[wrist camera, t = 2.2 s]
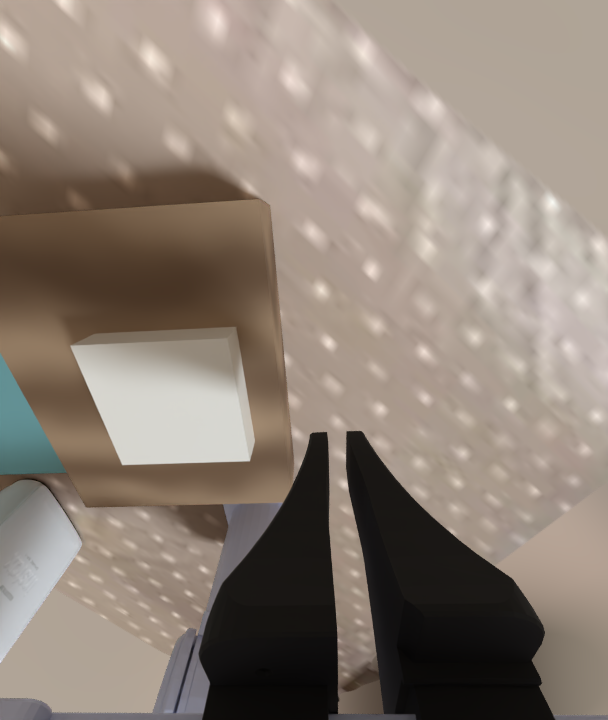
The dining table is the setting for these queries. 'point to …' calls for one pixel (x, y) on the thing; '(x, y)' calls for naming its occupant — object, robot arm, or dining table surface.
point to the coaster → (170, 394)
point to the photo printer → (30, 554)
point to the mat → (22, 433)
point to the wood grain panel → (145, 313)
